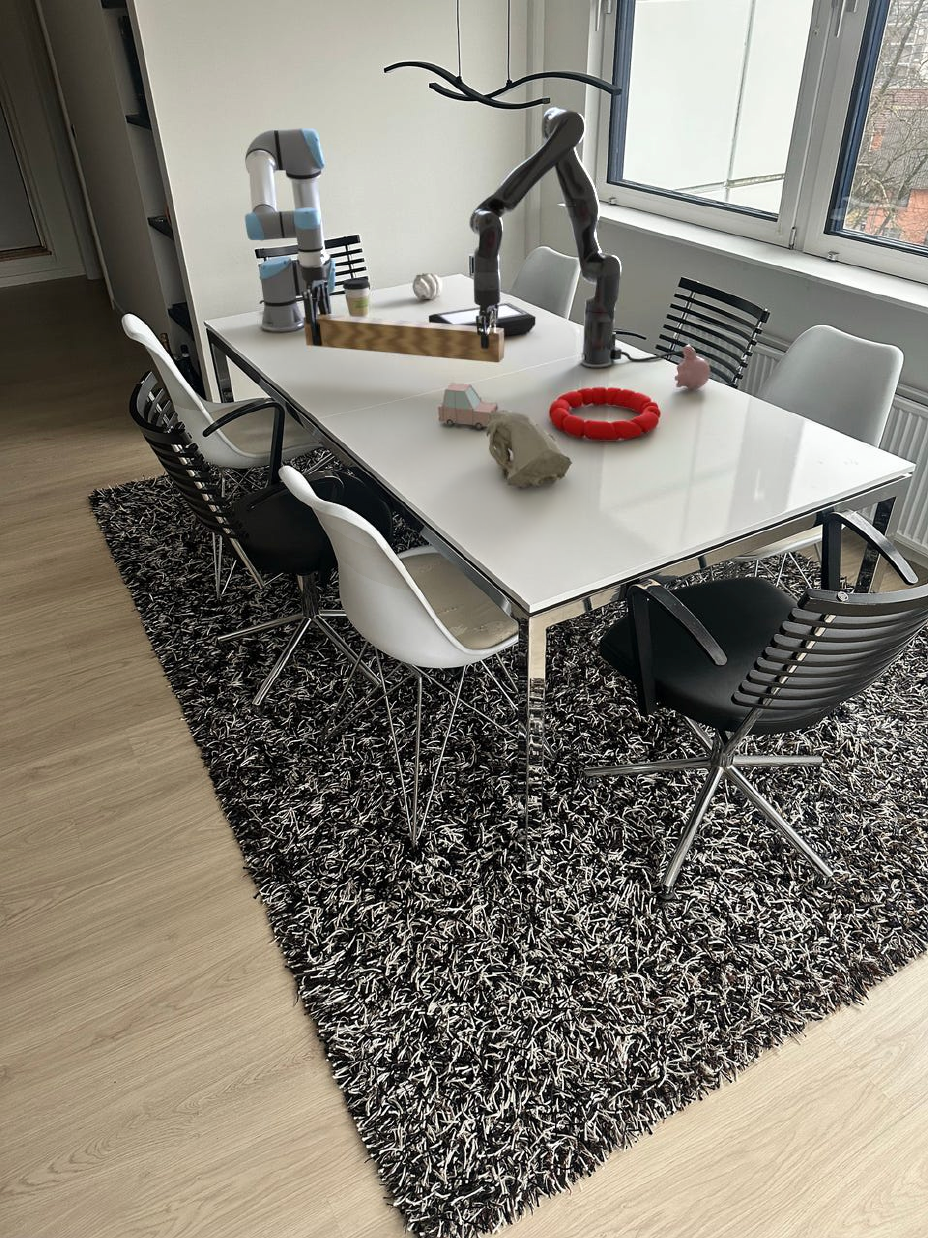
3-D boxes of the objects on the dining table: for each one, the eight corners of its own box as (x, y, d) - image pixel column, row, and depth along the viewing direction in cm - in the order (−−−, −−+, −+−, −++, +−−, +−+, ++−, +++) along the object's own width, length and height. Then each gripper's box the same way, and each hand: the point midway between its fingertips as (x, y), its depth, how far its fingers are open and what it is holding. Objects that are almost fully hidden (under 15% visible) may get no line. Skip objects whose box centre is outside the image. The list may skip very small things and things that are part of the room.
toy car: (488, 432, 240) (488, 396, 234) (436, 426, 244) (434, 390, 239) (499, 419, 247) (499, 384, 241) (448, 413, 252) (447, 379, 246)
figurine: (665, 387, 264) (669, 347, 257) (693, 380, 268) (698, 340, 261) (686, 396, 257) (690, 355, 250) (714, 388, 262) (720, 348, 255)
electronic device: (451, 328, 298) (428, 313, 313) (451, 346, 301) (429, 331, 316) (535, 314, 308) (509, 300, 323) (535, 332, 311) (509, 318, 326)
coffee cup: (372, 326, 323) (368, 283, 314) (345, 327, 323) (340, 284, 315) (374, 318, 331) (371, 276, 322) (348, 319, 331) (344, 277, 323)
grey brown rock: (496, 517, 219) (521, 479, 201) (463, 429, 225) (484, 384, 207) (557, 503, 225) (586, 465, 206) (523, 417, 231) (549, 373, 212)
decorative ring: (589, 435, 224) (684, 402, 234) (527, 398, 247) (617, 369, 256) (589, 461, 229) (683, 427, 238) (529, 422, 251) (617, 393, 260)
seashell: (406, 298, 352) (404, 272, 346) (439, 293, 358) (438, 267, 352) (417, 304, 345) (416, 278, 339) (451, 298, 350) (450, 272, 345)
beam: (306, 345, 280) (302, 317, 275) (314, 340, 283) (310, 313, 279) (498, 362, 261) (498, 333, 256) (504, 357, 265) (503, 328, 260)
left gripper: (309, 272, 259) (319, 352, 272) (337, 258, 272) (345, 334, 286) (286, 271, 261) (297, 350, 274) (315, 256, 275) (324, 332, 288)
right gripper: (491, 293, 245) (492, 354, 255) (507, 279, 256) (507, 338, 266) (466, 291, 248) (467, 352, 257) (482, 278, 259) (483, 336, 268)
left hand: (321, 341), depth 280 cm, fingers closed on beam, 5 cm apart
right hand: (488, 345), depth 262 cm, fingers closed on beam, 5 cm apart
